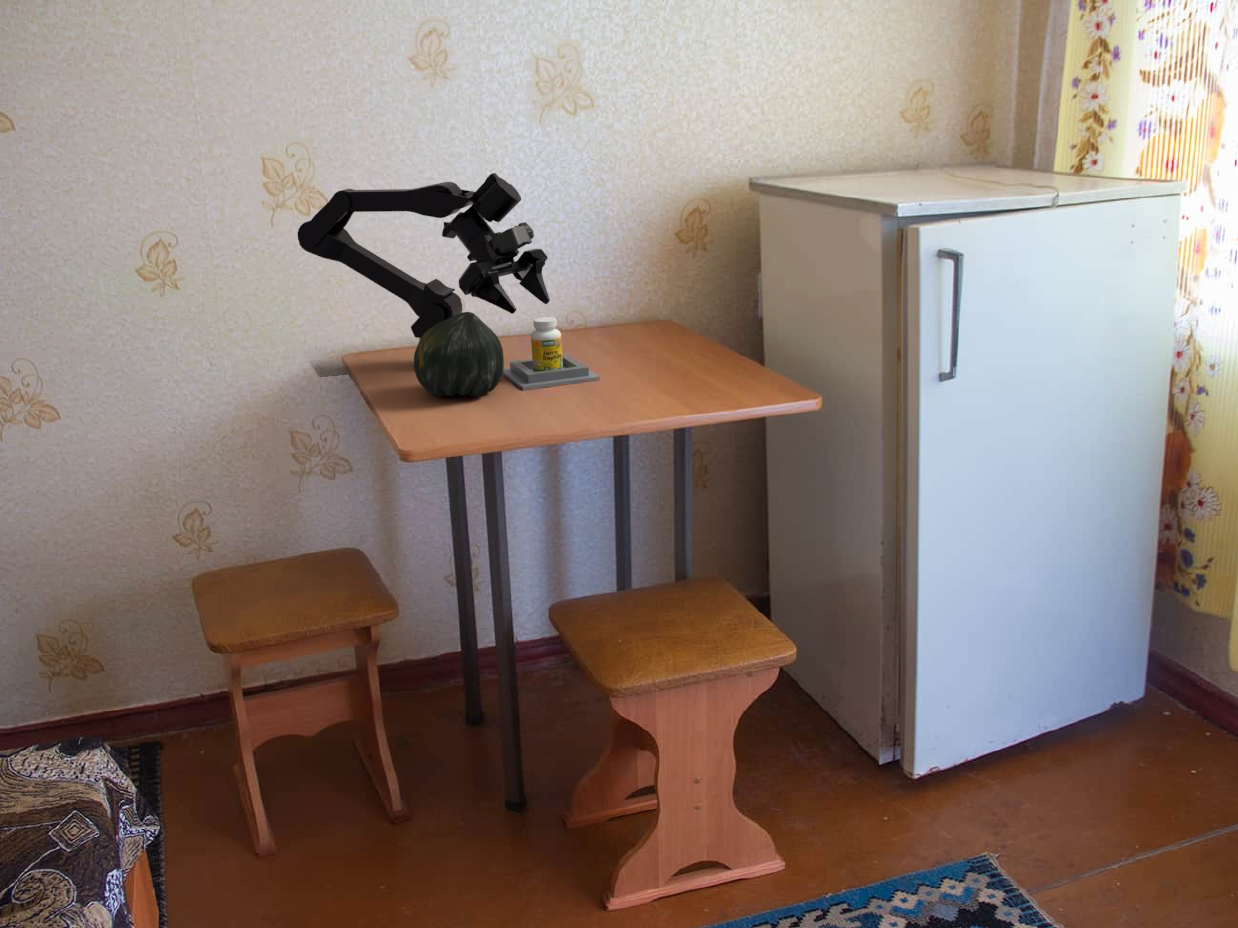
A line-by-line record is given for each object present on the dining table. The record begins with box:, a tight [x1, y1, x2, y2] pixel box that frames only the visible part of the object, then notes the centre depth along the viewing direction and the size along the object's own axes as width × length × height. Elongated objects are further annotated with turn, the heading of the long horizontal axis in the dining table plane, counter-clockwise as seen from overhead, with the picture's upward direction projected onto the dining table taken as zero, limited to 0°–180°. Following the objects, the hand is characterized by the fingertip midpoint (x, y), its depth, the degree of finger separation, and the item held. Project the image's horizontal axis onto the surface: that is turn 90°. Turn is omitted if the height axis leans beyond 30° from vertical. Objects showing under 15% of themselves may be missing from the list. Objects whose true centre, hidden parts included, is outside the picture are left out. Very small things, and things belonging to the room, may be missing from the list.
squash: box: [413, 311, 505, 398], centre depth 195 cm, size 14×15×15 cm
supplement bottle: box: [530, 316, 563, 372], centre depth 205 cm, size 5×5×10 cm
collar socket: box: [502, 354, 601, 391], centre depth 206 cm, size 14×14×2 cm
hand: (531, 307), depth 204 cm, fingers open, 9 cm apart
